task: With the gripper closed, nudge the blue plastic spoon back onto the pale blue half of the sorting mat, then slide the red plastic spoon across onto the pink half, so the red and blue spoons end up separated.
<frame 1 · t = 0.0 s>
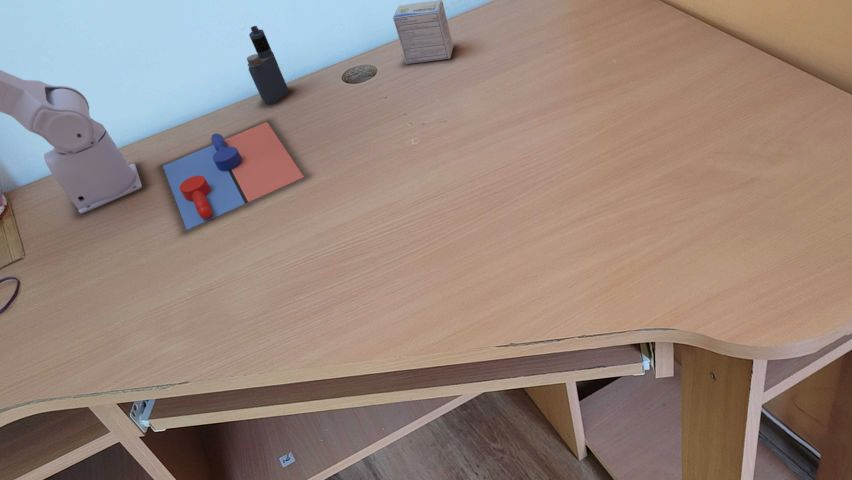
sorting mat: (230, 172, 107), on the table
vaping device: (277, 98, 122), on the table
blue spoon: (225, 155, 111), resting on sorting mat
medicine box: (430, 57, 123), on the table
red spoon: (201, 202, 102), resting on sorting mat
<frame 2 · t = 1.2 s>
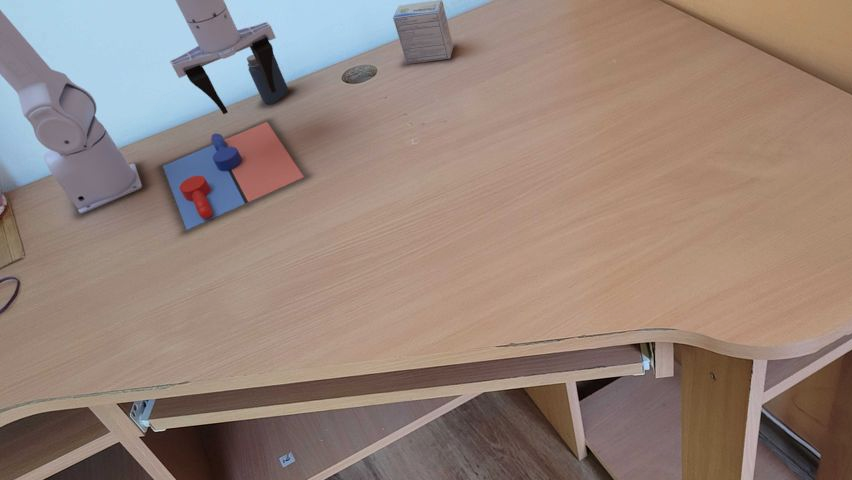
hand: (248, 100, 106), 8 cm above the table, tool pointing down, fingers open, 7 cm apart
nothing on the table moved.
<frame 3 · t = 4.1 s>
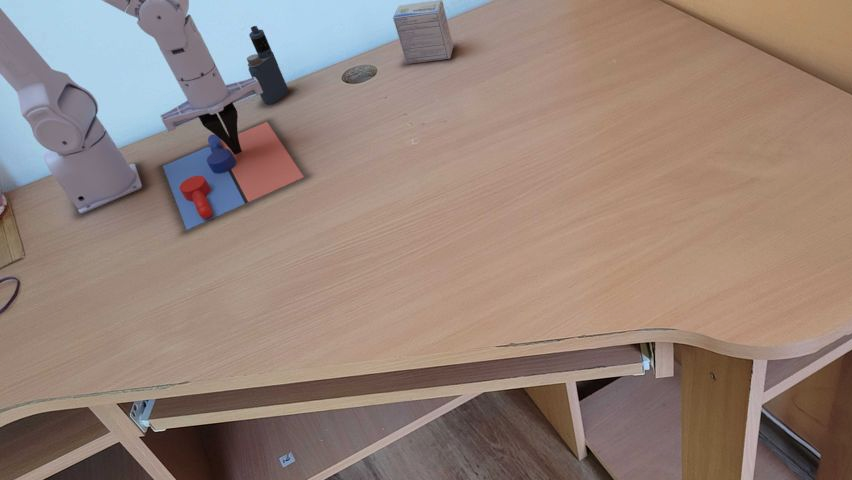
hand: (236, 150, 110), 1 cm above the table, tool pointing down, fingers closed
blue spoon: (221, 157, 111), resting on sorting mat, touching gripper
everything else where it was.
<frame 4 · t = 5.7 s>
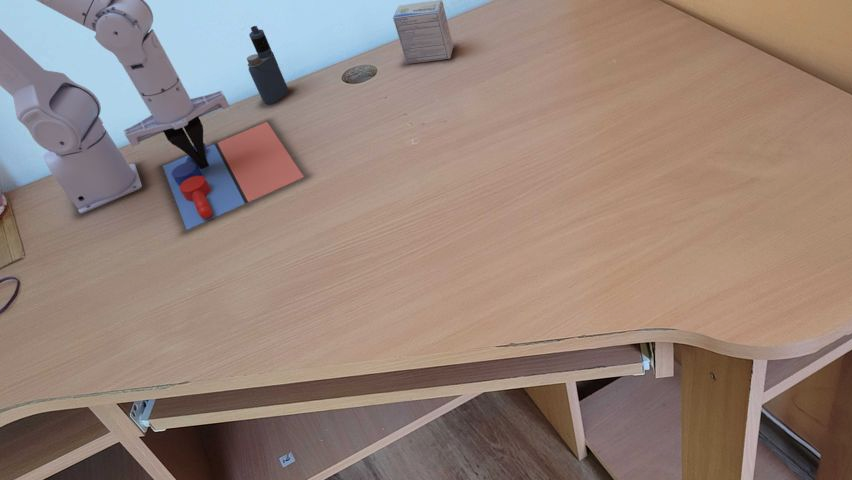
hand: (204, 164, 108), 1 cm above the table, tool pointing down, fingers closed
blue spoon: (194, 167, 110), resting on sorting mat, touching gripper
everything else where it was.
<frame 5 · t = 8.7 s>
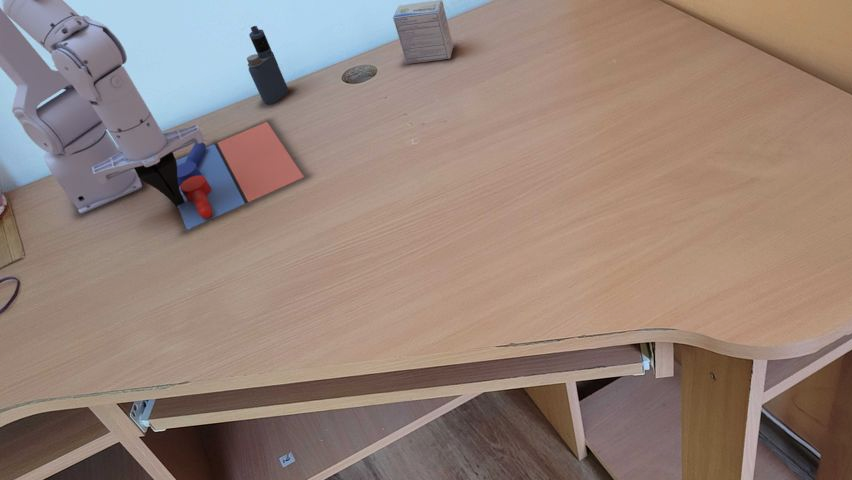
hand: (179, 201, 102), 1 cm above the table, tool pointing down, fingers closed
blue spoon: (194, 167, 110), resting on sorting mat
red spoon: (202, 202, 102), resting on sorting mat, touching gripper
everything else where it was.
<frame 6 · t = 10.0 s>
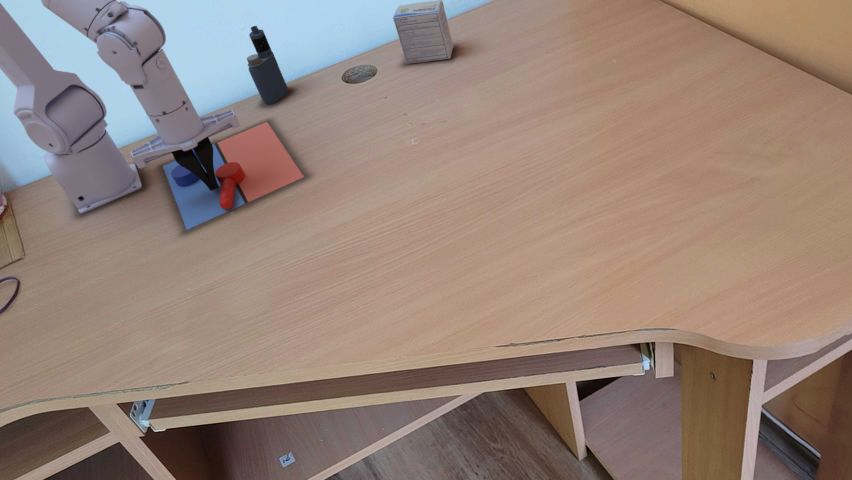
hand: (213, 186, 103), 1 cm above the table, tool pointing down, fingers closed
red spoon: (231, 190, 103), resting on sorting mat, touching gripper
everything else where it was.
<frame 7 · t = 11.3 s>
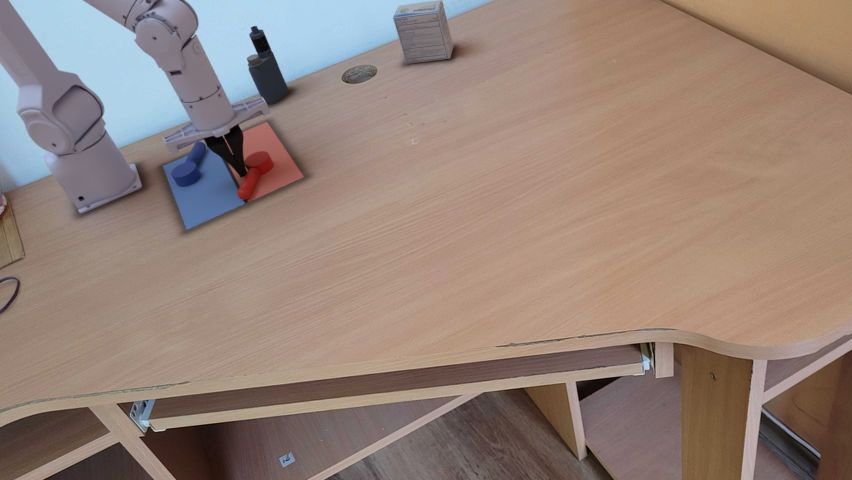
hand: (242, 173, 105), 1 cm above the table, tool pointing down, fingers closed
red spoon: (255, 180, 104), resting on sorting mat, touching gripper
everything else where it was.
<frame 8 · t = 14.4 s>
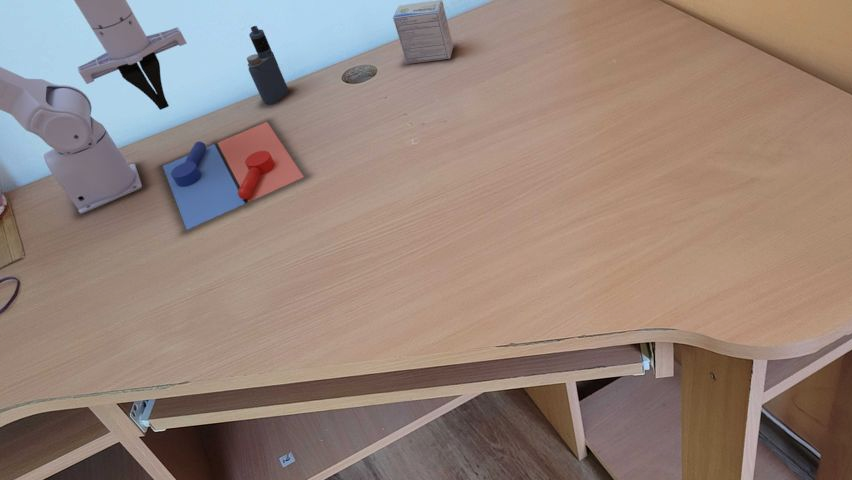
hand: (163, 105, 106), 9 cm above the table, tool pointing down, fingers closed
red spoon: (256, 179, 104), resting on sorting mat
everything else where it was.
at the end: red spoon inside the target area (2.2 cm from its centre), resting on sorting mat; blue spoon inside the target area (0.4 cm from its centre), resting on sorting mat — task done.
